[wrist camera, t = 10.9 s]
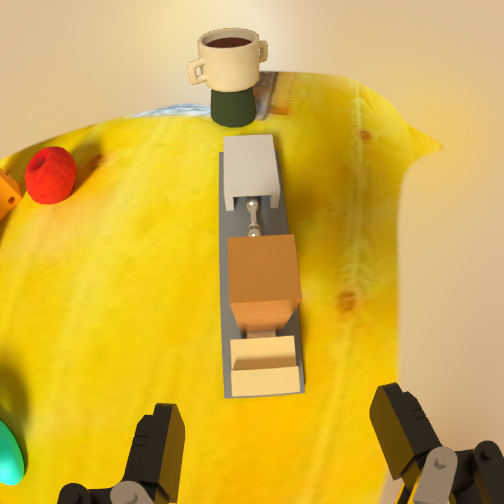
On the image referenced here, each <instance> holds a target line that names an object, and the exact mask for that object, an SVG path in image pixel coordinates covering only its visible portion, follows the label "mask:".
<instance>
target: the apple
mask: <svg viewBox="0 0 504 504" xmlns="http://www.w3.org/2000/svg"><path fill="white" fill-rule="evenodd" d="M75 177H76V163H75V162H74V160H73V158H72V156H71V155H70V153H69V152H68V151H66V150H65V149H64V148H61V147H48V148H44V149H42V150H40V151H39V152H38V153H36V154H35V155H34V157H33V158H32V159H31V160H30V162H29V164H28V166H27V168H26V172H25V182H26V189H27V191H28V194H29V195H30V196H31V198H32V199H33V200H34V201H35V202H37V203H40V204H56V203H59V202H61V201H63V200H64V199H65V198H66V197H67V196H68V195H69V194H70V192H71V190H72V189H73V185H74V181H75Z"/></svg>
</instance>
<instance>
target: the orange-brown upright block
mask: <svg viewBox="0 0 504 504" xmlns="http://www.w3.org/2000/svg"><path fill="white" fill-rule="evenodd" d="M246 206H247V211H248V212H249V213H250V216H251V224H249V226H248V237H233V238H228V271H229V300H230V306H231V309H232V311H233V314H234V317H235V320H236V322H237V325H238V328H239V330H240V333H241V334H247V339H254V338H270V337H276V332H281V331H282V329H283V328H284V326H285V325H286V323H287V322H288V320H289V318H290V317H291V315H292V314H293V312H294V311H295V309H296V307H297V306H298V304H299V303H300V301H301V299H302V295H301V286H300V277H299V269H298V261H297V253H296V245H295V237H294V234H288V235H269V236H261V232H260V226H259V224H257V223H256V212H257V211H258V208H259V207H258V197H257V196H246Z"/></svg>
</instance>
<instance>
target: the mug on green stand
mask: <svg viewBox="0 0 504 504" xmlns="http://www.w3.org/2000/svg"><path fill="white" fill-rule="evenodd" d="M259 48H260V56H259ZM267 50H268V45H267V42H266V41H259V35H258V34H256V33H255V32H254V31H250V30H247V29H240V28H225V29H218V30H214V31H210V32H208V33H206V34H204V35H203V36H201V37H200V38H199V40H198V52H199V59H197V60H194V61H191V62H190V63H189V64H188V66H187V69H188V74H189V80H190V83H191V84H192V85H194V84H199V83H201V82H204V81H205V83H206V84H207V86H208V87H210V88H212V90H211V117H212V119H213V121H215V122H216V123H218V124H220V125H222V126H227V127H242V126H244V125H247V124H249V123H250V122H251V121H252V120H253V119H254V118H255V114H256V107H255V100H254V95H253V89H252V86H254V85H255V83H256V82H257V81H258V78H259V63H261V62H264V61H266V60H267V53H268V51H267ZM197 67H201V74H202V75H199V76H197V75H196V68H197Z"/></svg>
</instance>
